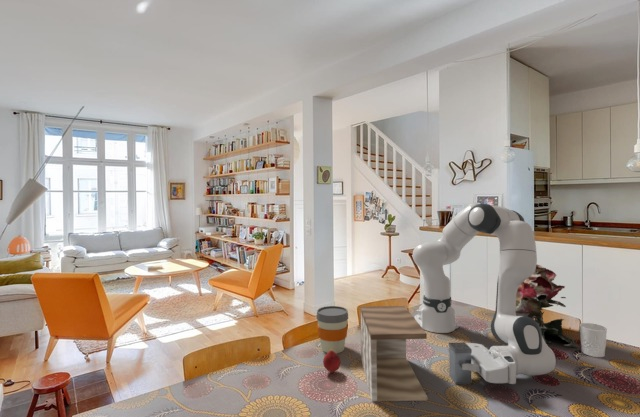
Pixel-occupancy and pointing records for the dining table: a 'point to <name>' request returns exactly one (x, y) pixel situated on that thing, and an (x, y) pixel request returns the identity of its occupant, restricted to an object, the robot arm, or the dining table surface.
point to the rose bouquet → (541, 301)
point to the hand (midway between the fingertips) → (457, 361)
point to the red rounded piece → (331, 361)
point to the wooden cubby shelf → (389, 353)
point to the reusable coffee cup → (332, 328)
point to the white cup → (593, 339)
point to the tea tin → (459, 362)
